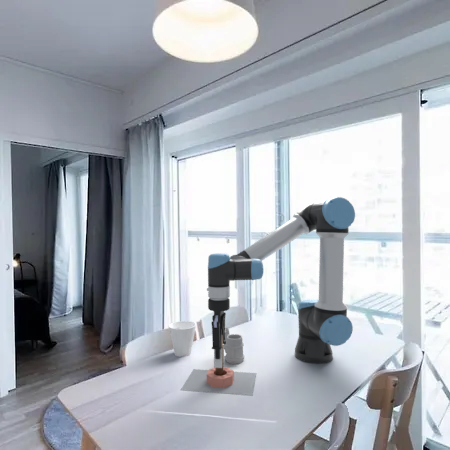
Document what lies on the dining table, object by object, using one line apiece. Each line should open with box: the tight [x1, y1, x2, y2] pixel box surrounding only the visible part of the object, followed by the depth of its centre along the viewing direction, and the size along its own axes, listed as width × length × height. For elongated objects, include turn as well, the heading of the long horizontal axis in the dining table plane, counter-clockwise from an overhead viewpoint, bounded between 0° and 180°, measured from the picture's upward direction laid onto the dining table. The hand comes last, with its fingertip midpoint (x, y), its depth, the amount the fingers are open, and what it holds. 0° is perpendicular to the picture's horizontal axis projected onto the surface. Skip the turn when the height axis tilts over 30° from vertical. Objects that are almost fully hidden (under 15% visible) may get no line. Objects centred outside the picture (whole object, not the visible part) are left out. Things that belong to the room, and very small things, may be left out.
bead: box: [207, 366, 235, 388], centre depth 113 cm, size 9×9×3 cm
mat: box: [180, 368, 257, 397], centre depth 113 cm, size 24×16×1 cm, turn 80°
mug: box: [223, 326, 245, 365], centre depth 133 cm, size 8×12×12 cm, turn 31°
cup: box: [168, 320, 197, 358], centre depth 140 cm, size 12×12×12 cm
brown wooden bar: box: [215, 335, 224, 376], centre depth 113 cm, size 3×3×16 cm
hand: (219, 365), depth 113 cm, fingers closed on brown wooden bar, 3 cm apart
